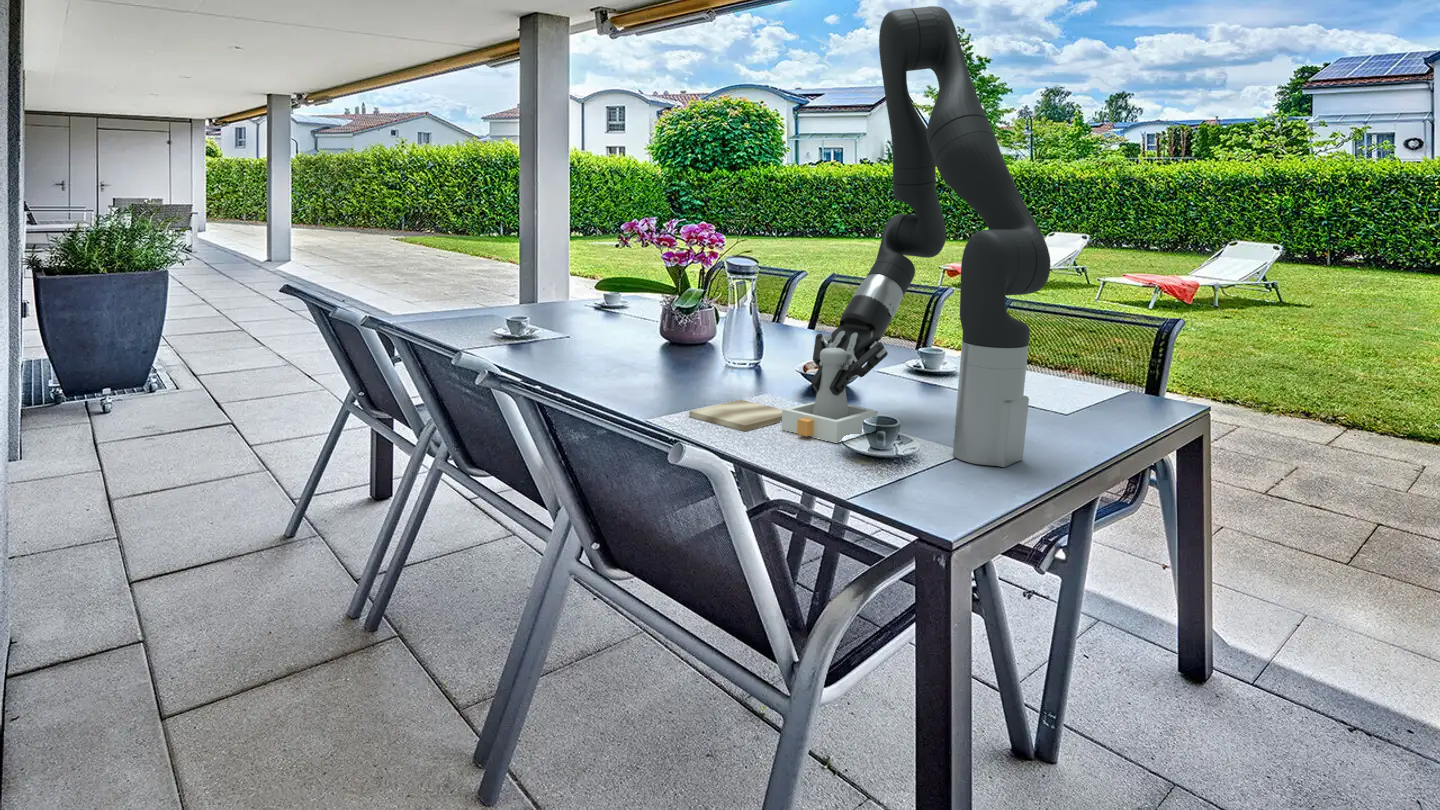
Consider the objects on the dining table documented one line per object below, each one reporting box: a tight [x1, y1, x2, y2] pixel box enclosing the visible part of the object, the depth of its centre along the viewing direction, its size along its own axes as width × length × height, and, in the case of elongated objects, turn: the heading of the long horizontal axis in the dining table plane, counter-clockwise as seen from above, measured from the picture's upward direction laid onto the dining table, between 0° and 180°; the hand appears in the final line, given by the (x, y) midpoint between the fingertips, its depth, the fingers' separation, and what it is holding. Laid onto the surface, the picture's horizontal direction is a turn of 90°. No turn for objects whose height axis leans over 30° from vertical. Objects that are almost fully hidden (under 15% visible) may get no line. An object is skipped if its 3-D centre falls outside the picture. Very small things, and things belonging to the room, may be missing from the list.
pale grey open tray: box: [781, 400, 879, 442], centre depth 145 cm, size 11×13×4 cm
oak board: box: [688, 399, 783, 432], centre depth 153 cm, size 13×13×1 cm
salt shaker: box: [813, 348, 849, 420], centre depth 144 cm, size 6×6×13 cm
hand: (824, 390), depth 143 cm, fingers closed on salt shaker, 3 cm apart
